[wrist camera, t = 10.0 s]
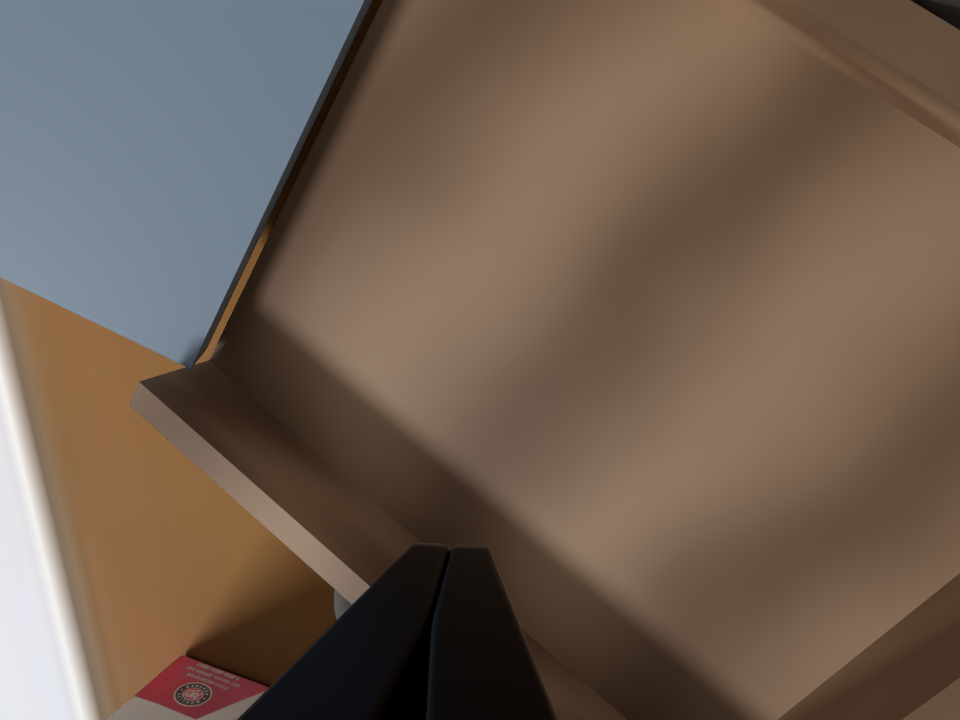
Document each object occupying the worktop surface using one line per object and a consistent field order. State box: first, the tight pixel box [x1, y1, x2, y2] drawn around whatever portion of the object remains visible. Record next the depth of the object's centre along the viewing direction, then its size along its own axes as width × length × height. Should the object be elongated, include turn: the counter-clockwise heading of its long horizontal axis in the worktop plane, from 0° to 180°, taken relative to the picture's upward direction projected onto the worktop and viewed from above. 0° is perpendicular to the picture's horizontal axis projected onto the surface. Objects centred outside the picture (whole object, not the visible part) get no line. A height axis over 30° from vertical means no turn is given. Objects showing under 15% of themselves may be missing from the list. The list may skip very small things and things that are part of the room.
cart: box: [129, 0, 960, 720], centre depth 15 cm, size 18×19×4 cm
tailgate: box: [0, 0, 372, 369], centre depth 15 cm, size 1×14×10 cm
